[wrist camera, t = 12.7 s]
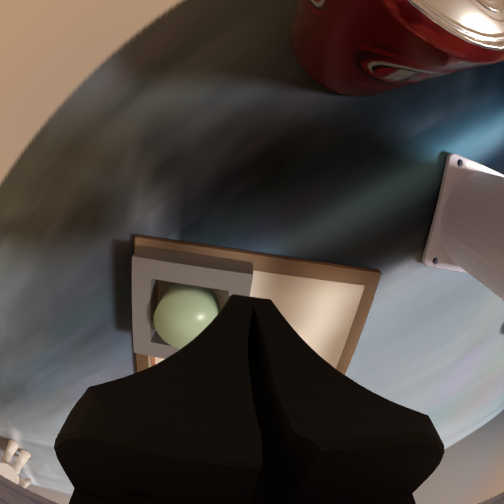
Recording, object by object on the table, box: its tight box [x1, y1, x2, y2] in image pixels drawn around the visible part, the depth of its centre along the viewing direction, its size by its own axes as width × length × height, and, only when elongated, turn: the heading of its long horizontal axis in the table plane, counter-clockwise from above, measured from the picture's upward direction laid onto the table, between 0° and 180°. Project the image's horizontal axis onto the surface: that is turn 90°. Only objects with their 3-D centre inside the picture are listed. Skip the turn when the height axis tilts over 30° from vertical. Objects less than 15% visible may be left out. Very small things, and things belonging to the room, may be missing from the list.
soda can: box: [290, 0, 504, 97], centre depth 10 cm, size 7×7×12 cm
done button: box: [154, 283, 220, 349], centre depth 19 cm, size 4×4×2 cm
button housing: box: [132, 246, 253, 359], centre depth 20 cm, size 7×7×2 cm
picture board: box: [135, 235, 381, 375], centre depth 23 cm, size 16×18×1 cm
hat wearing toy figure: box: [0, 440, 31, 488], centre depth 24 cm, size 9×4×12 cm, turn 36°
